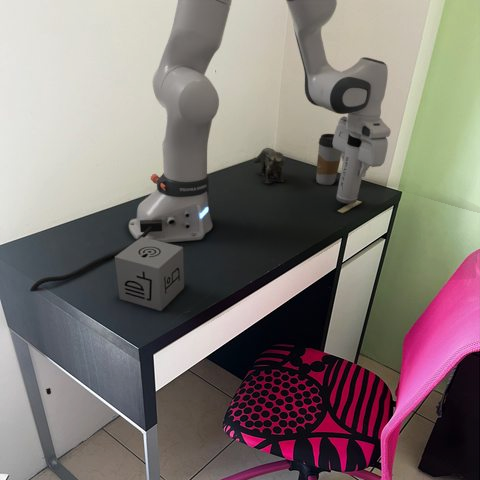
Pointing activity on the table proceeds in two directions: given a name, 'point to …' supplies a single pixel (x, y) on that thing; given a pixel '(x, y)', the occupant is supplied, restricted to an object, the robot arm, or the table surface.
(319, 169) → the coffee cup
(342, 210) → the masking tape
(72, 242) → the table surface
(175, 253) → the icon cube
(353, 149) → the travel mug
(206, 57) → the robot arm
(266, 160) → the toy dinosaur
